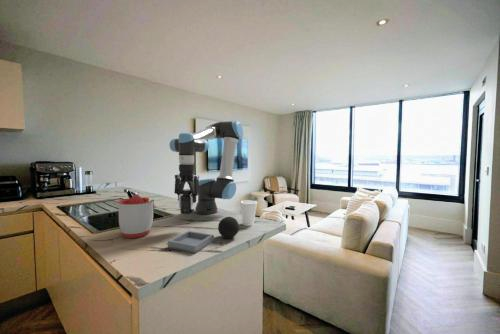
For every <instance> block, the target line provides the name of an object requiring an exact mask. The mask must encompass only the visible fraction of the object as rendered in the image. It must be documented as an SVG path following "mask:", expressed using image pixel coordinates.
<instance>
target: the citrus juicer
mask: <svg viewBox="0 0 500 334" xmlns="http://www.w3.org/2000/svg"><path fill="white" fill-rule="evenodd" d="M117 203H118V225H119V229H120V232H121V235H122V236H123V237H124V238H128V239H134V238H140V237H144V236H147V235H149V234H150V232H151V230H152V225H153V220H154V209H157V207H158V206H156V205H154V203H155V201H154V199H150V198H149V197H144V196H143V197H141V196H140V195H139V194H137V193H136V194H134V195H133V196H132V197H128V198H124V199H120V200H118V201H117Z"/></svg>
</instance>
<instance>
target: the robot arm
mask: <svg viewBox="0 0 500 334" xmlns="http://www.w3.org/2000/svg"><path fill="white" fill-rule="evenodd" d="M243 136H244V129H243V125H242V124H241V122H240V121H237V120H232V121H218V122H215V123H213V124H210V125H207V126H206V127H205V128H203V129H200V130H199V131H196V132H193V133H190V132H181V133H179V134H178V138H173V139H171V140H170V142H169V149H170V151H172V152H175V153H178V172H179V173H178V174H174V179H175V180H174V194H175V195H177V202H178V208H179V209H180V196H181V195H182V190H185V189H184V188H185V184H186V183H187V184H188V188H189V189H190V190H191V194H192V196H191V209H194V212H195V213H196V214H197V215H213V214H214V215H215V214H217V213H218V207H217V202H216V199H221V200H231V199H232V198H233V197H234V196H235V194H236V192H237V185H236V184H237V183H236V182H235V180H234V178H233V172H234V166H235V164H234V162H235V157H236V147H237V144H238V143H239V141H240V139H241V138H243ZM214 139H222V141H223V147H222V155H221V162H220V168H219V175H218V176H217V177H216V178H213V177H212V178H205V179H204V178H203V179H200V176H199V175H195V164H194V163H195V153H205V152H207V151H208V150H209V148H210V146H209V145H210V144H209V141H208V140H214Z"/></svg>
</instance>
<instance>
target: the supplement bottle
mask: <svg viewBox="0 0 500 334" xmlns="http://www.w3.org/2000/svg"><path fill="white" fill-rule="evenodd" d="M191 196H192V194H191V190H190V188H189V189H188V188H186V189H183V190H182V194H181V196H180V208H179V209H180V210H179V211H180V214H181V215H191V214H193V213H194V212H195V208H194V209H191Z"/></svg>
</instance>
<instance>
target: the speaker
mask: <svg viewBox="0 0 500 334" xmlns="http://www.w3.org/2000/svg"><path fill="white" fill-rule="evenodd" d="M217 230H218V232H219V234H220V236H221V237H222V238H225V239H231V238H234V237H235V236H236V235H237V234H238V233H239V231H240V226H239V221H238V220H237V219H236V218H234V217H232V216H225V217H223V218H222V219H220V221H219V223H218V226H217Z"/></svg>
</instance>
